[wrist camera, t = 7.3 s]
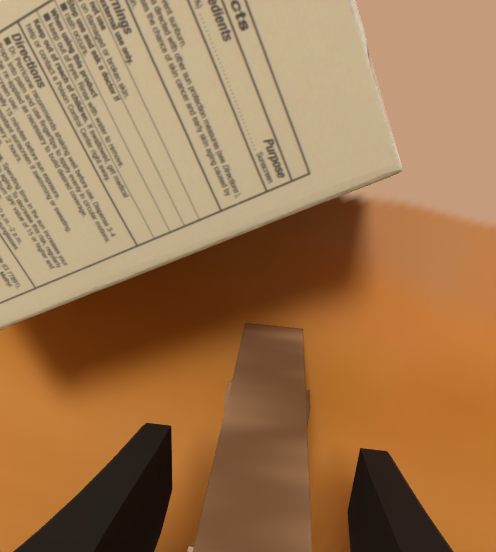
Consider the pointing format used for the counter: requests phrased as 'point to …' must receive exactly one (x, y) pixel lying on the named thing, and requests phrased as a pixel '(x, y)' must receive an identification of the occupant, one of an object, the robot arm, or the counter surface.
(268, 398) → the brown piece
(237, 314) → the counter surface
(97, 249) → the skincare box
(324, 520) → the counter surface
